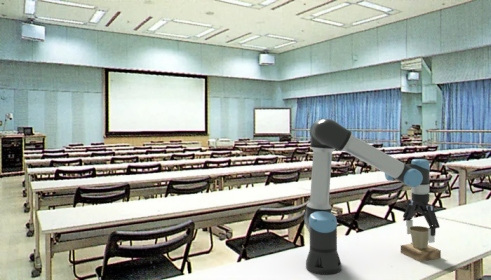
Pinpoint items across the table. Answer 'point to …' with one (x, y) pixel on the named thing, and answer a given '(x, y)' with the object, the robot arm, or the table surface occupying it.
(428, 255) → the plinth
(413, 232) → the flower pot
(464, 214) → the table surface
